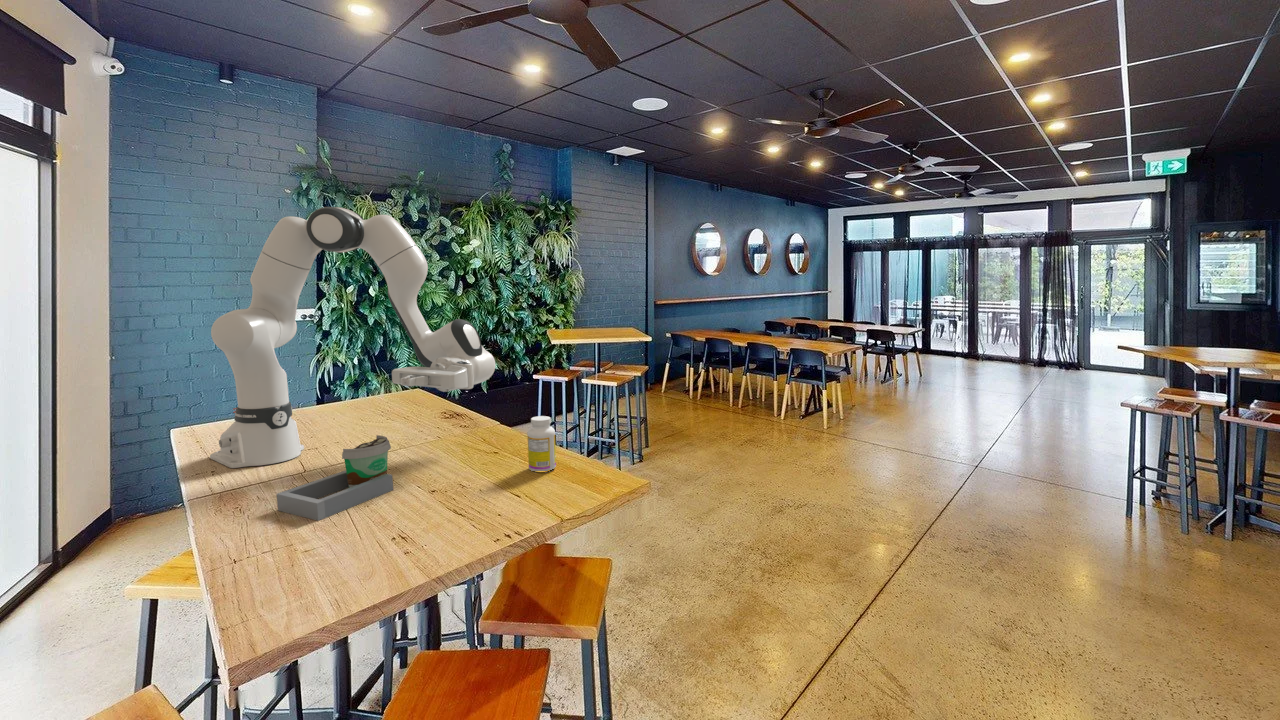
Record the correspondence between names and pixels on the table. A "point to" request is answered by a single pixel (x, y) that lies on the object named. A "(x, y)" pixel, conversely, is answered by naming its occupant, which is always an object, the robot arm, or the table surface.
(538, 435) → the supplement bottle
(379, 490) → the grey rectangular tray
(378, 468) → the food container
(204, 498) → the table surface
